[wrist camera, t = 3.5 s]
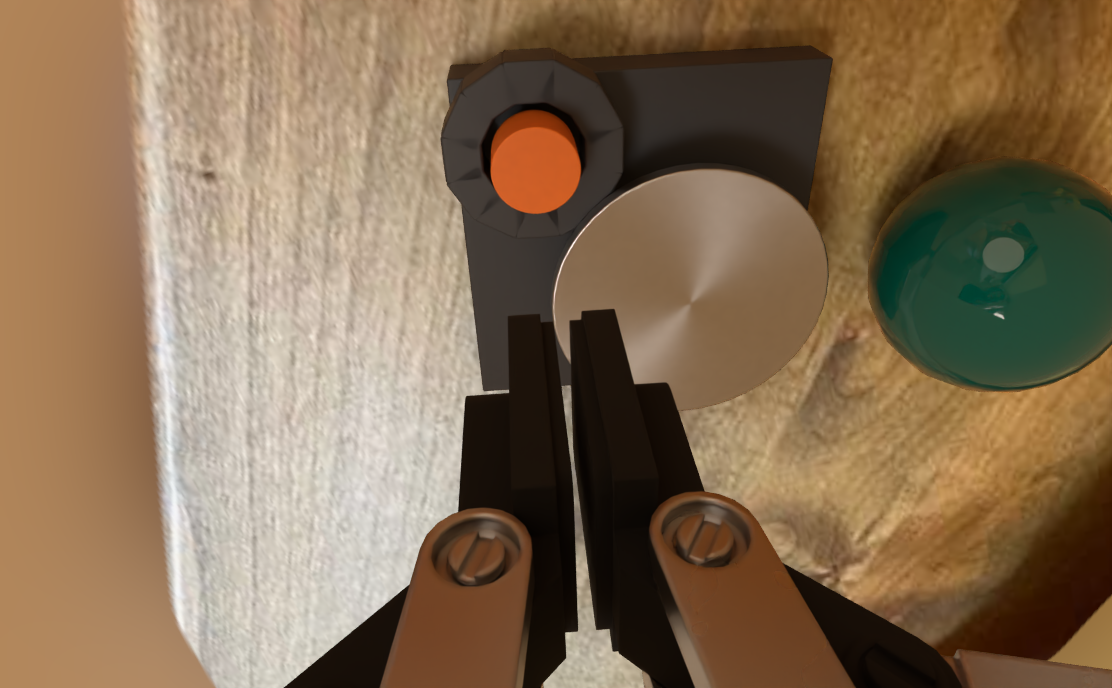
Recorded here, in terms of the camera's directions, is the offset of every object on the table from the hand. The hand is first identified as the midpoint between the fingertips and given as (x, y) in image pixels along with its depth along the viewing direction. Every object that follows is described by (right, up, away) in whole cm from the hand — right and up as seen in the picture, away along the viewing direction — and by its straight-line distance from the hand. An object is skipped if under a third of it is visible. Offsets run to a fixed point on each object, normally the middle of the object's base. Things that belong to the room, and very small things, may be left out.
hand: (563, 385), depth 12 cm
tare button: (-1, +7, +10) cm, 12 cm away
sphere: (+15, +5, +16) cm, 22 cm away
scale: (+3, +5, +15) cm, 16 cm away
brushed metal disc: (+4, +2, +13) cm, 14 cm away
